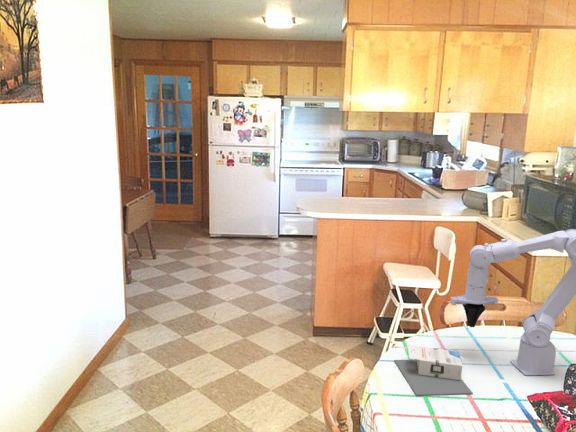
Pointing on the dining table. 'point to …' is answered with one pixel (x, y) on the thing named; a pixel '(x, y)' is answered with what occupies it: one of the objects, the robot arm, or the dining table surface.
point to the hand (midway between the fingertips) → (470, 325)
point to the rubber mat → (430, 381)
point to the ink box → (437, 362)
